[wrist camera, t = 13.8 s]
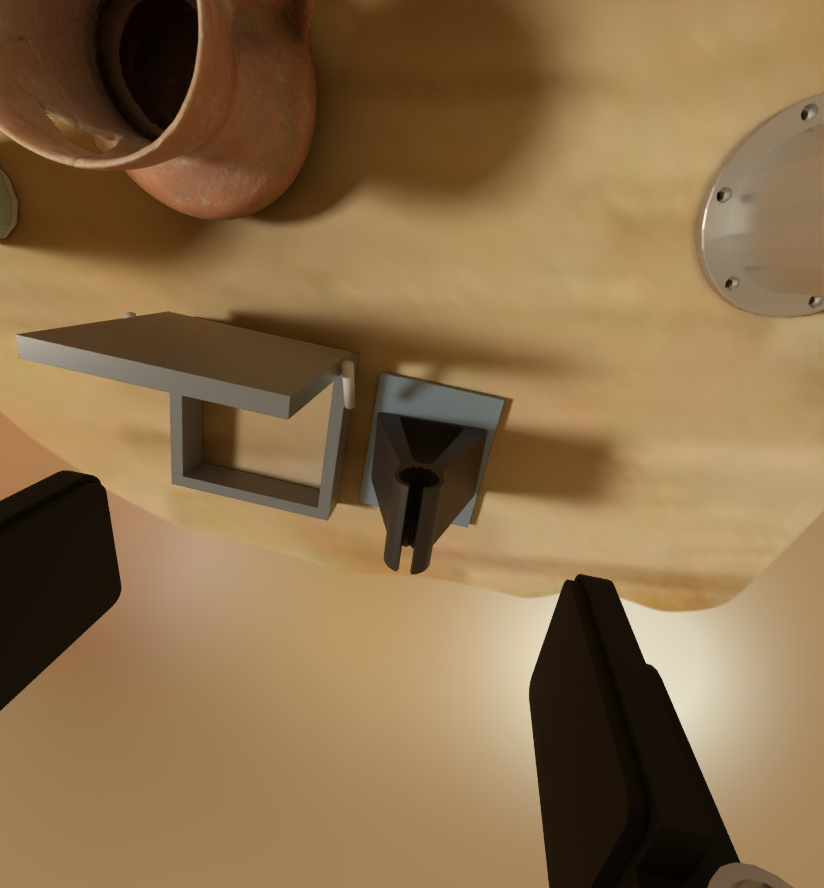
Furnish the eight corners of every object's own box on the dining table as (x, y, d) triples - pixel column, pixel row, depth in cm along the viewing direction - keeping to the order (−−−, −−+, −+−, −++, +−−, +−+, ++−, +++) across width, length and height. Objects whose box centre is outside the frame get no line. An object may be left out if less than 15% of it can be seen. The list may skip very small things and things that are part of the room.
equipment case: (373, 346, 35) (310, 399, 21) (347, 505, 41) (285, 628, 27) (179, 304, 36) (-5, 328, 22) (181, 466, 41) (36, 567, 28)
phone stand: (488, 429, 36) (496, 502, 25) (473, 494, 38) (475, 587, 27) (378, 410, 36) (339, 474, 25) (371, 475, 39) (332, 559, 28)
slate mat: (503, 398, 35) (504, 400, 35) (467, 523, 40) (467, 527, 39) (381, 371, 36) (380, 373, 35) (360, 498, 40) (358, 502, 40)
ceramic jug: (172, 257, 34) (-4, 253, 21) (66, 32, 30) (-245, -152, 16) (390, 169, 31) (340, 100, 18) (310, -103, 26) (160, -476, 13)
